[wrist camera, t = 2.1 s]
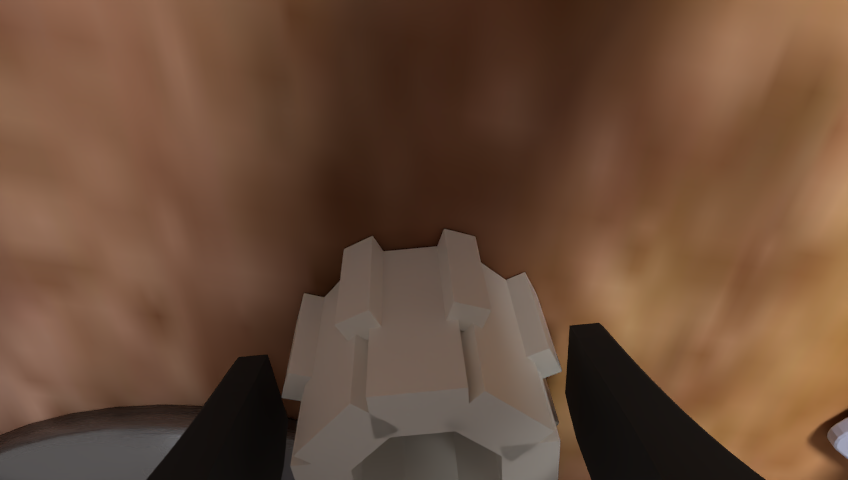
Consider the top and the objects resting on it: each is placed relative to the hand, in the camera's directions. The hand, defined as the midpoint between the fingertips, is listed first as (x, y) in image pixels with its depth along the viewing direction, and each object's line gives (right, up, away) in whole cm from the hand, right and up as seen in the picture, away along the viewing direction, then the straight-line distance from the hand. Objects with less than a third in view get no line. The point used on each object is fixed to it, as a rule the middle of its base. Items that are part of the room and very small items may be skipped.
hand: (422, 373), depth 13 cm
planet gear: (0, +1, +1) cm, 1 cm away
